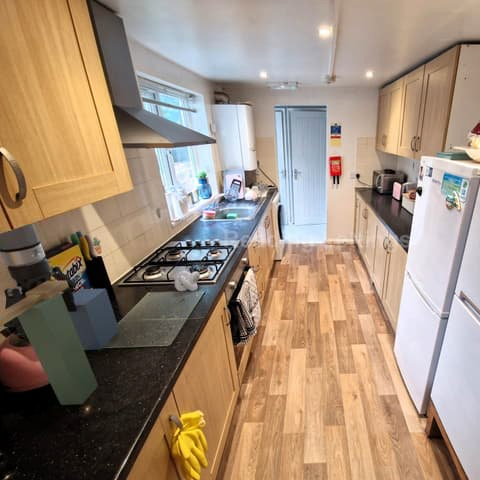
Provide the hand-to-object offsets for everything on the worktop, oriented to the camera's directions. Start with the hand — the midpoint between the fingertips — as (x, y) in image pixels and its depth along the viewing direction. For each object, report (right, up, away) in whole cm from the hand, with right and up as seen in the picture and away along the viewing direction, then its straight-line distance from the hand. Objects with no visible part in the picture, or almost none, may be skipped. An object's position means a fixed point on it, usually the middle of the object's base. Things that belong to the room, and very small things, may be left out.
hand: (53, 325), depth 79 cm
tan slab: (+10, +10, -16) cm, 22 cm away
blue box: (-3, -13, +19) cm, 23 cm away
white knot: (+14, +1, +55) cm, 57 cm away
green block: (+10, -21, -1) cm, 23 cm away
